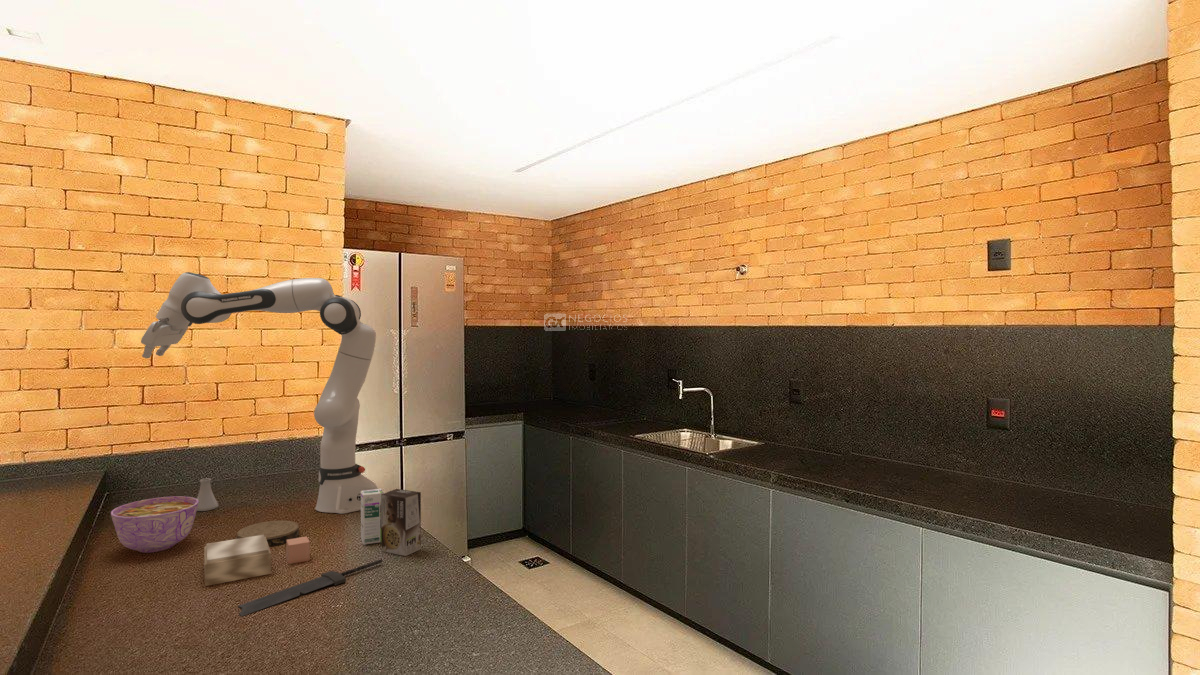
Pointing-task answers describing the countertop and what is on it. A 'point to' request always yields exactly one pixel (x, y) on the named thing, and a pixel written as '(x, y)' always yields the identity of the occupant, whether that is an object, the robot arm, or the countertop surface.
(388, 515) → the brown printed carton
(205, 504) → the flask
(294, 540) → the terracotta cube
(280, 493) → the countertop surface
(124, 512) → the bowl of food
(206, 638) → the countertop surface
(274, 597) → the flat dark sword
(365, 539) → the syrup box
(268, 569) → the cream square block
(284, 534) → the brown flat disc
